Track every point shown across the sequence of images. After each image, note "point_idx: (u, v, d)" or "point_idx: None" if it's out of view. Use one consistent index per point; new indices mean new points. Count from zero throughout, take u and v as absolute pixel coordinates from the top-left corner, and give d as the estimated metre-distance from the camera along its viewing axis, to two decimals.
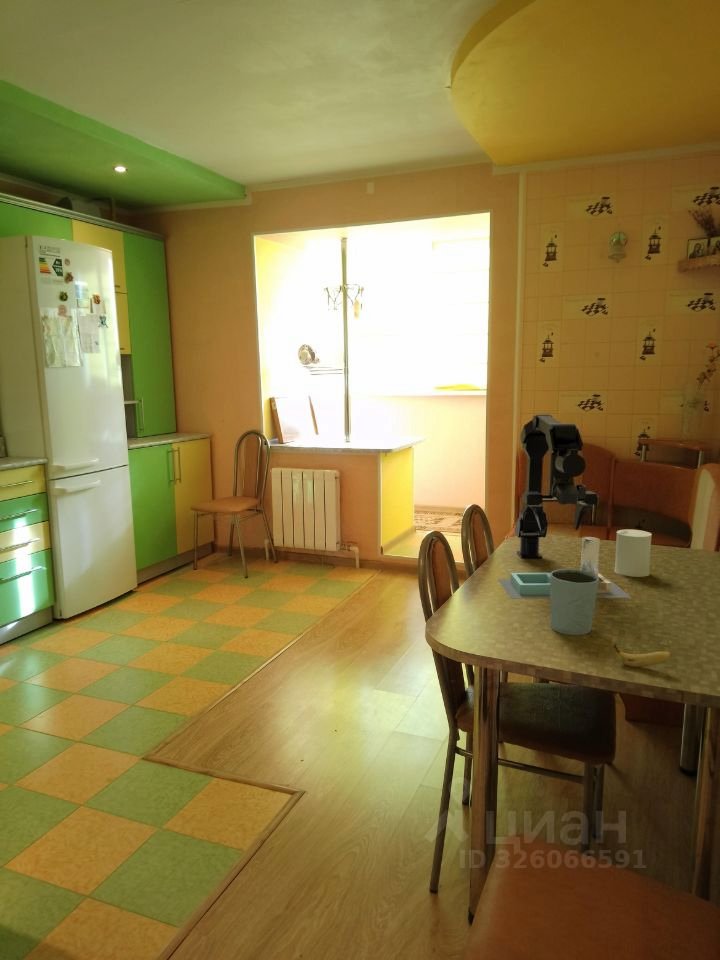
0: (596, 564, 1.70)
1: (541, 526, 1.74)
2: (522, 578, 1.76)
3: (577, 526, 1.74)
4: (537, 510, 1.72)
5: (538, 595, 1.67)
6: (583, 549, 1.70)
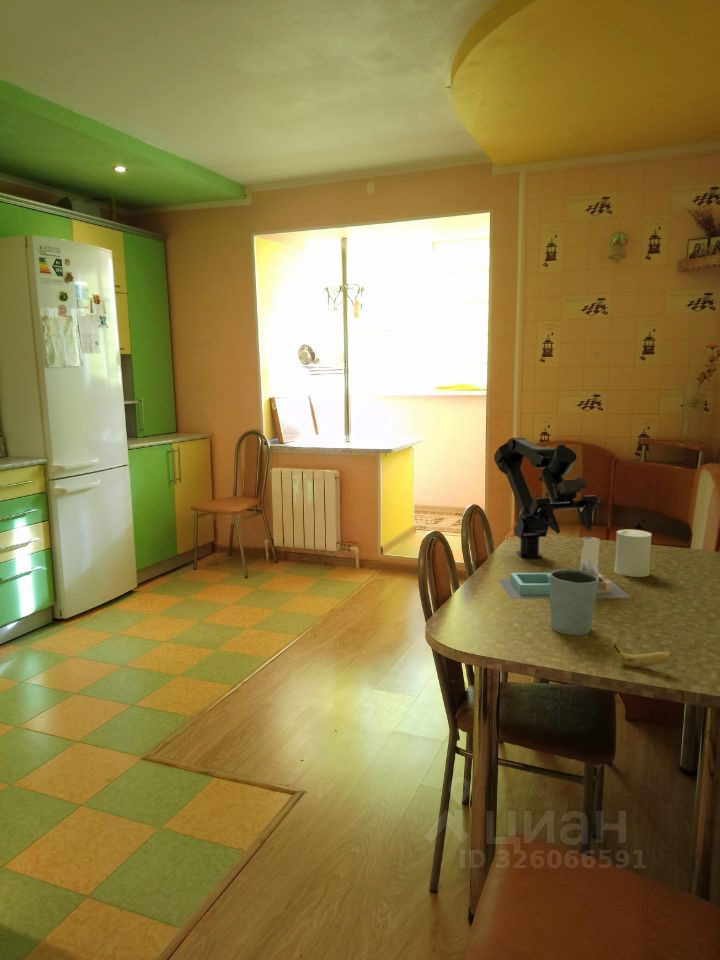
0: (596, 564, 1.70)
1: (557, 527, 1.77)
2: (522, 578, 1.76)
3: (589, 525, 1.79)
4: (548, 511, 1.79)
5: (538, 595, 1.67)
6: (583, 549, 1.70)
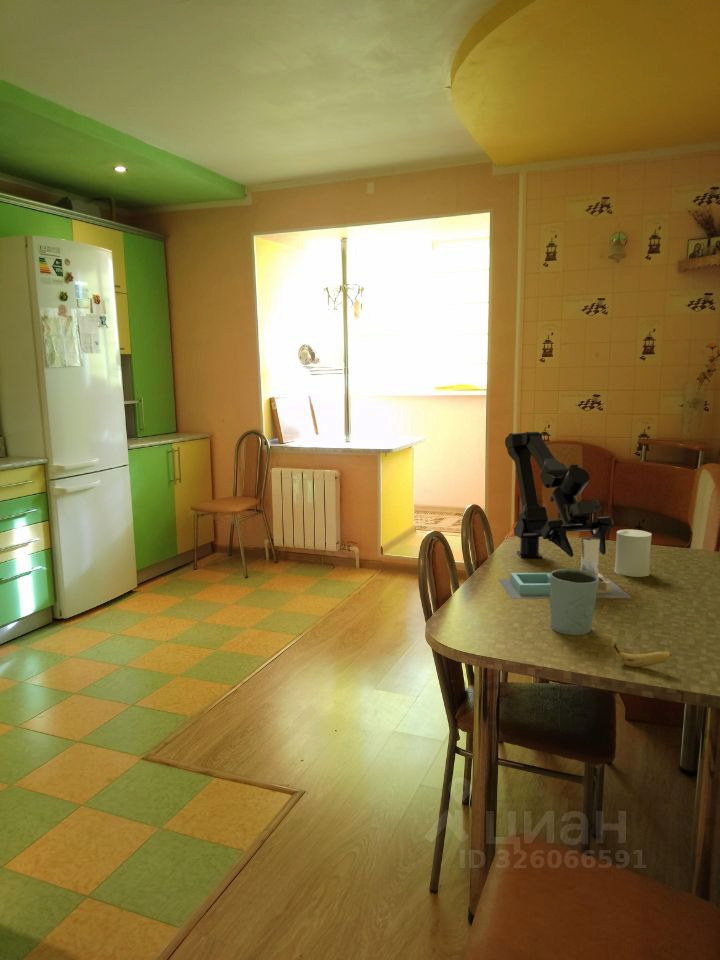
0: (596, 564, 1.70)
1: (571, 550, 1.71)
2: (522, 578, 1.76)
3: (604, 548, 1.73)
4: (561, 533, 1.72)
5: (538, 595, 1.67)
6: (583, 549, 1.70)
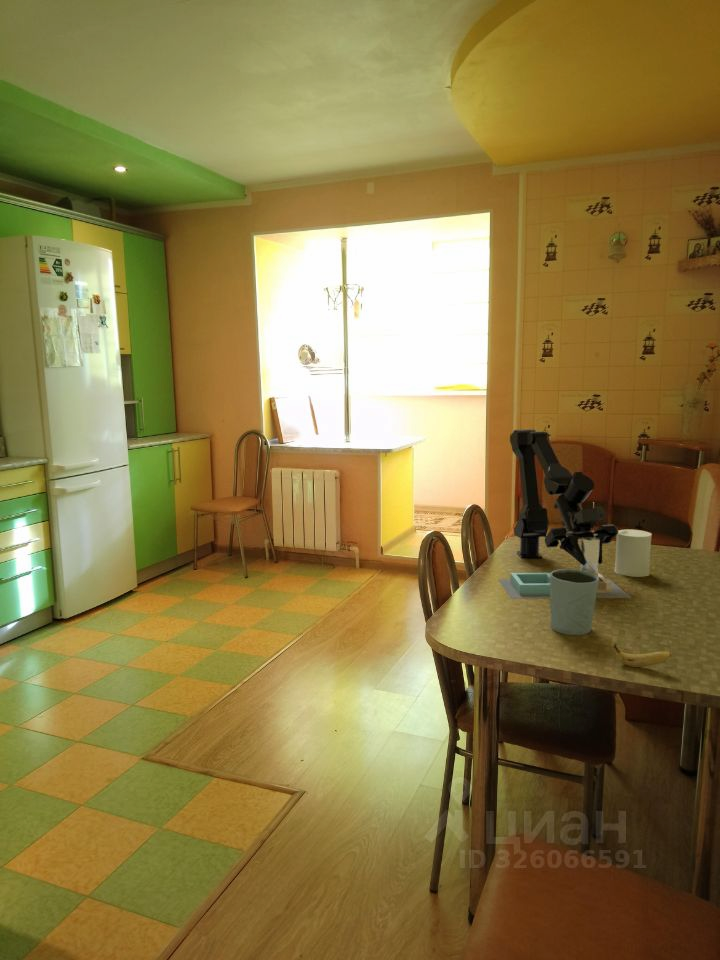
0: (596, 564, 1.70)
1: (582, 558, 1.70)
2: (522, 578, 1.76)
3: (600, 557, 1.71)
4: (573, 541, 1.71)
5: (538, 595, 1.67)
6: (583, 549, 1.70)
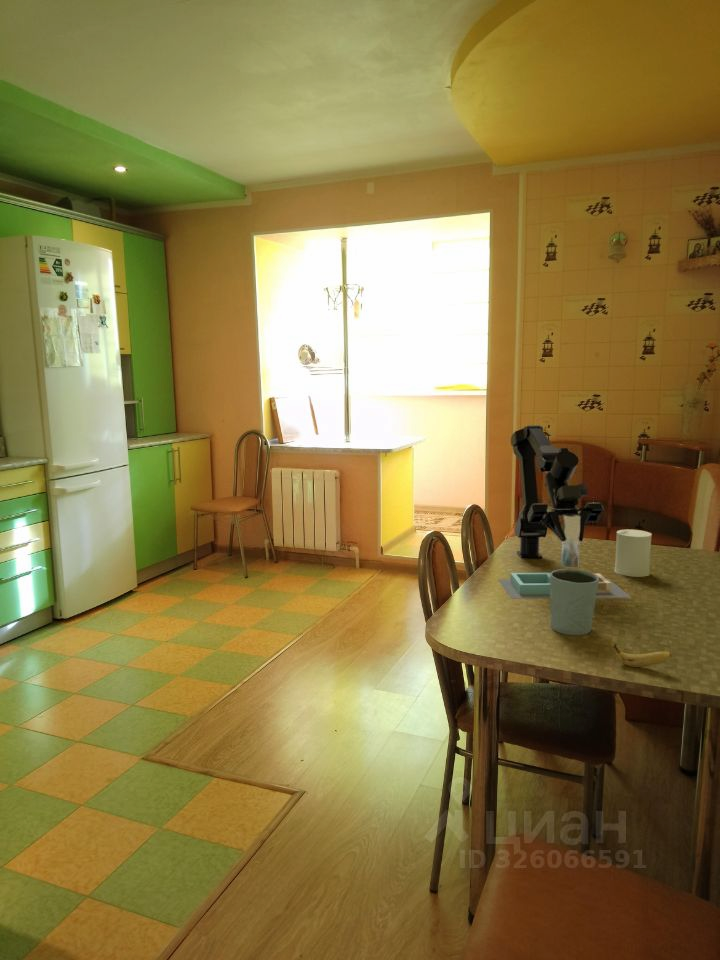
0: (576, 541, 1.68)
1: (562, 534, 1.69)
2: (522, 578, 1.76)
3: (581, 535, 1.69)
4: (553, 517, 1.70)
5: (538, 595, 1.67)
6: (563, 525, 1.69)
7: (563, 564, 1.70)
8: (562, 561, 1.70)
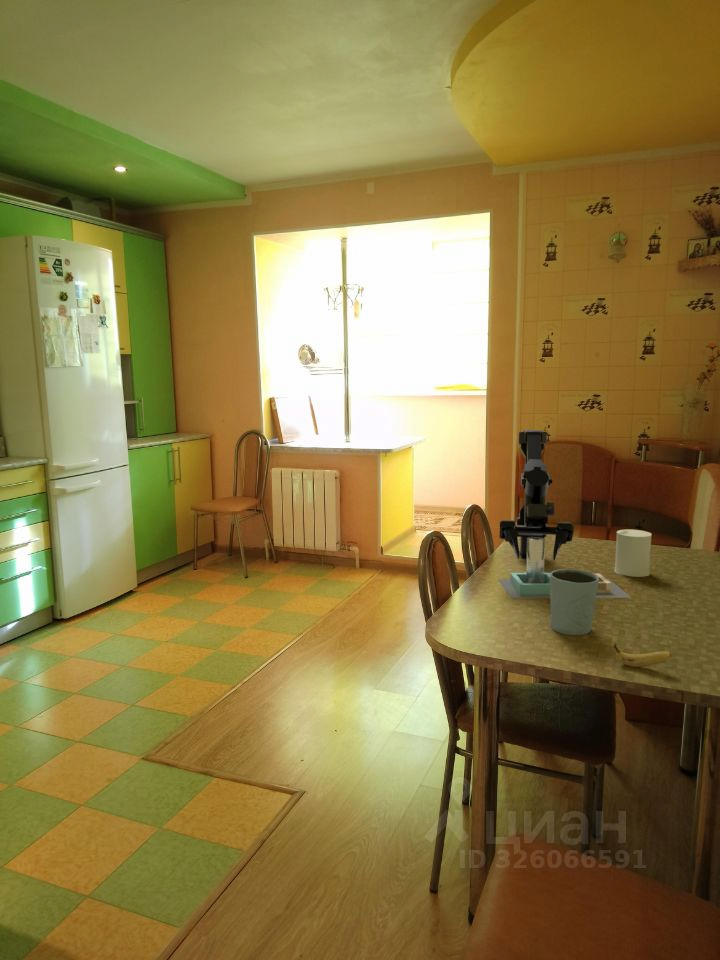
0: (539, 564, 1.70)
1: (517, 552, 1.71)
2: (522, 578, 1.76)
3: (554, 554, 1.69)
4: (511, 534, 1.73)
5: (538, 595, 1.67)
6: (527, 547, 1.71)
7: None
8: None
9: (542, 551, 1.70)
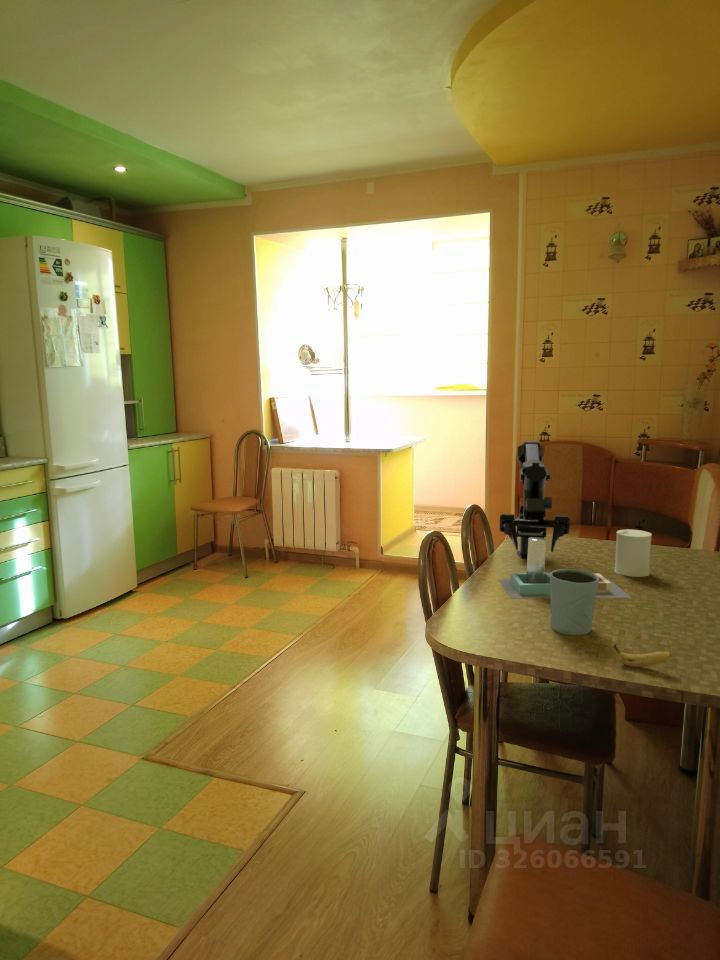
0: (539, 565, 1.69)
1: (516, 544, 1.80)
2: (522, 578, 1.76)
3: (552, 546, 1.78)
4: (510, 527, 1.82)
5: (538, 595, 1.67)
6: (528, 548, 1.71)
7: None
8: None
9: (543, 552, 1.69)
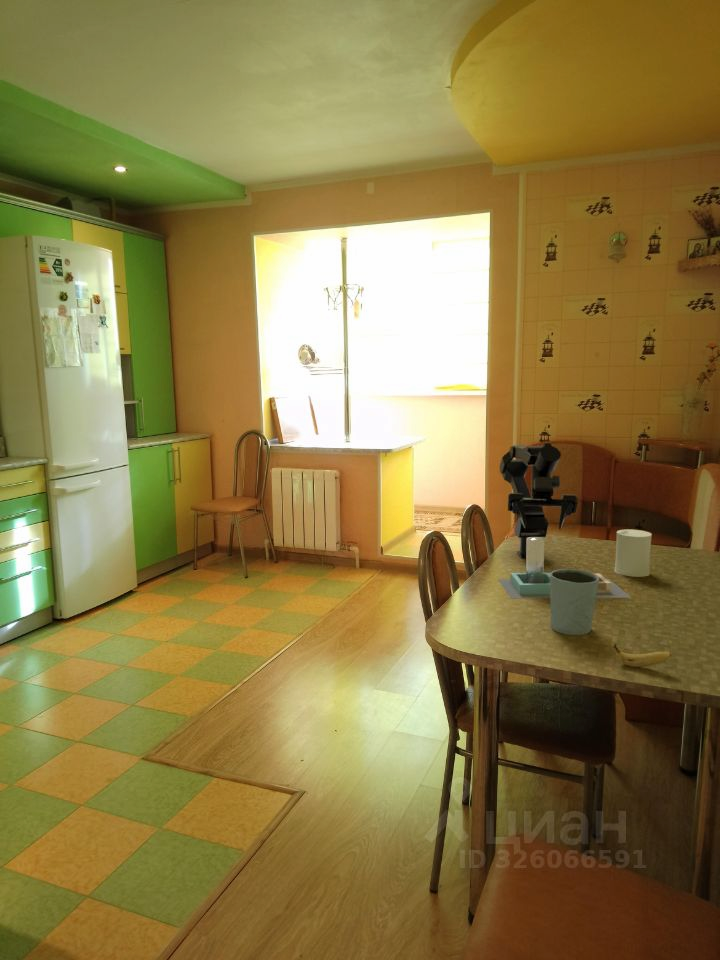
0: (538, 564, 1.70)
1: (524, 522, 1.83)
2: (522, 578, 1.76)
3: (560, 523, 1.81)
4: (519, 506, 1.85)
5: (538, 595, 1.67)
6: (526, 548, 1.71)
7: None
8: None
9: (542, 551, 1.70)
